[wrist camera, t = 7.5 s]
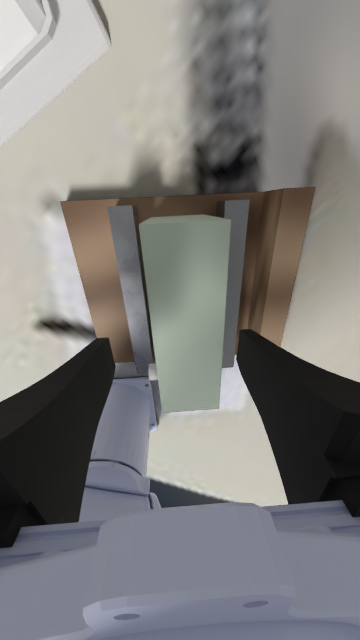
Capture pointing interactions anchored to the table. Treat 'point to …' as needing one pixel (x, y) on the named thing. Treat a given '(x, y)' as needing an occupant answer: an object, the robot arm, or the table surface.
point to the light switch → (43, 54)
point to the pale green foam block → (186, 306)
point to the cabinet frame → (243, 266)
